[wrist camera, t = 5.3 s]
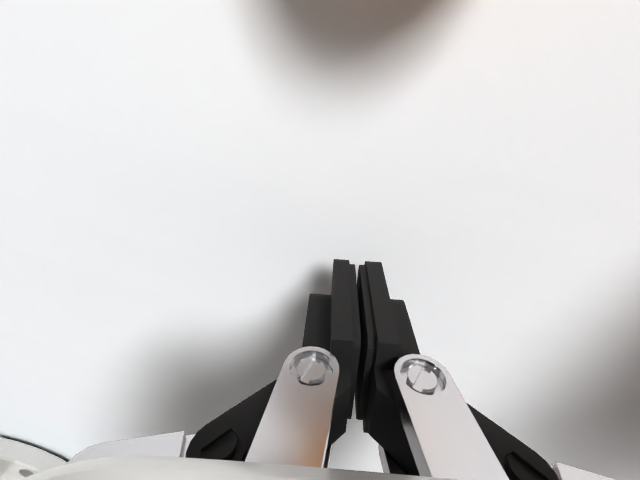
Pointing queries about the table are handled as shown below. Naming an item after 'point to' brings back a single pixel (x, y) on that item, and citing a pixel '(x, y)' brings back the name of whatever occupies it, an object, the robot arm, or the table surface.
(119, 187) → the table surface
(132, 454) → the robot arm
